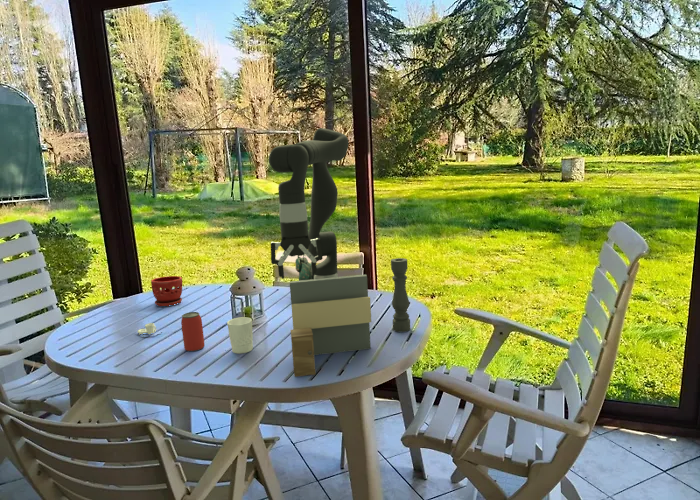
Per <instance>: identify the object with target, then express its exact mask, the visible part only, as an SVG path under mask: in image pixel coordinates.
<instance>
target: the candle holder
mask: <svg viewBox="0 0 700 500" xmlns="http://www.w3.org/2000/svg"><path fill="white" fill-rule="evenodd" d="M390 269H391V272H392V275H393V276H391V279H392V281H393V282H394V290H393V295H392V299H391V306H392V309H393V310H394V313H393V315H392V318H393V319H392V330H393V331H394V332H397V333H405V332H409V331H411V319H410V314H408V309H409V307H410V299H409V296H408V293H407V287H406V281H407V279H408V276H407V275H406V273H407V271H408V258H403V257H399V258H398V257H397V258H393V259H391V260H390Z"/></svg>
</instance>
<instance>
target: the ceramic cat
mask: <svg viewBox="0 0 700 500" xmlns="http://www.w3.org/2000/svg"><path fill="white" fill-rule="evenodd" d="M296 256H297V258H296V259H295V271H297V273H298V281H301V280H312V279H314V276H312V272H311V262H309V261H308V259H307V258H308V257H307V256H306V254H304V255H302V256H303V257H302V256H298V255H296Z"/></svg>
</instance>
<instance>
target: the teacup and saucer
mask: <svg viewBox="0 0 700 500" xmlns="http://www.w3.org/2000/svg"><path fill="white" fill-rule="evenodd" d="M144 326H145V328H140V329H138V330H137V334H138V333H139V334H138V335H140V334H143V333H148V334H151V333H154V334H155V332H156V330H157V326H156V325H155V323H154V322H149V323H146V324H145V325H144ZM148 334H147V335H148Z"/></svg>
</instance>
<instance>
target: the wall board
mask: <svg viewBox="0 0 700 500" xmlns="http://www.w3.org/2000/svg"><path fill="white" fill-rule="evenodd" d="M289 292H290V303H291V304H290V305H291V316H292V318H291V319H292V330H294V329H303V328H311V330H312V334H313V345H314V356H318V355H319V354H320V355H327V354H335V353H345V352H346V353H347V352H352V351H362V350H369V349H372V347H371V332H370V331H371V330H370V328H371V326H370V323H372V309H371V308H372V307H371V306H372V305H371V296H369V291H368V276H367V274H356V275H355V274H354V275H347V276H346V275H345V276H338V277H333V278H323V279H312V280H301V281H299V280H292V281H289ZM320 355H319V356H320Z"/></svg>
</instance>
